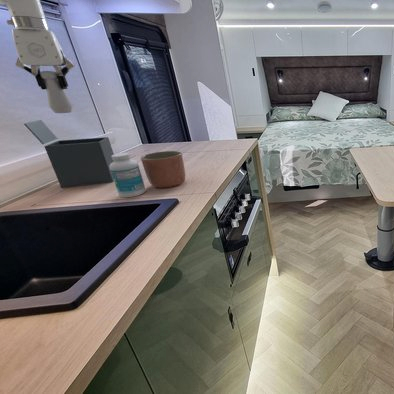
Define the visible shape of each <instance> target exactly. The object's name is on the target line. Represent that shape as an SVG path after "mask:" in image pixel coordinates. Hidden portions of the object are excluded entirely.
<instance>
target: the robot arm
mask: <svg viewBox="0 0 394 394" xmlns="http://www.w3.org/2000/svg"><path fill="white" fill-rule="evenodd" d="M0 5H3V6H4V5H5V6H6V7H7V10H8V12H9V15H10V19H6V23H7V25H8V26H12V27H13V28H12V29H11V33H12V39H13V43H14V47H15V51H16V54H17V57H18V58H17V59H16V62H15V66H16V67H18V68H20V69H23V70H25V71H27V72H28V73H29V74H31V75H32V76H34V78H35V80H36V83H37V86H38V87H39V88H40V89H41V90H46V84H45V79H42V77H41V75H40V72H42V69H41V67H53V68H54V71H55V72H57V73H58V76H57V80H58V82H59V85H60V87H61V89H63V90H68V87H69V83H68V81H67V79H66V76H67V74H68V73H69V72H70V71H71V70H73V68H75V67H76V66H75V64H74V62H72V61H71V60H70V59H68V57H67V56H66V55H65V54H64V50H63V49H62V46H61V44H60V42H59V40H58V38H57V36H56V34H55V33H54V31H51V29H50V27H49V23H48V21H47V18H46V15H45V11H44V9H43V5H42V3H41V0H0Z"/></svg>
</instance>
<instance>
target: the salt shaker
mask: <svg viewBox="0 0 394 394" xmlns="http://www.w3.org/2000/svg"><path fill="white" fill-rule="evenodd" d="M40 75H41V77H42V79H45V84H46V89H45V91H46V96H47V102H48V106H49V108H50V109H51V110H52V112H54V113H55V114H69V113H70V114H71V113H72V110H73V107H74V105H73V103H72V101H71V99H70V98H69V96H68V94H67V93H66V92H65V89H61V87H60V85H59V82H58V79H57V76H58V73H57V72H56V71H55V70H41V72H40Z"/></svg>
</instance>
